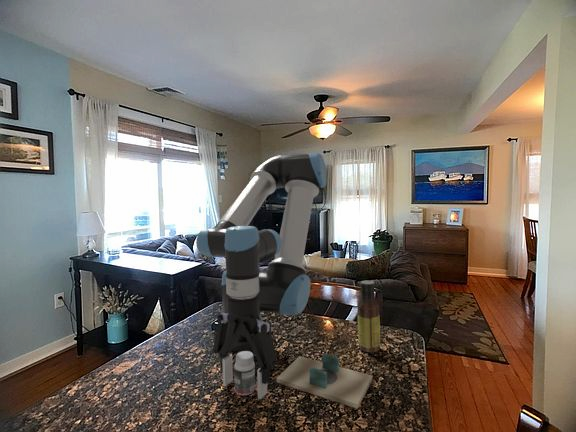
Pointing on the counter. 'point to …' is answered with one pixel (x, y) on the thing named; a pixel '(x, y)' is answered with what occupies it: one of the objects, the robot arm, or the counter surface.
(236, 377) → the pill bottle
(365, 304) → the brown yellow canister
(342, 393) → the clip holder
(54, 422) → the counter surface
